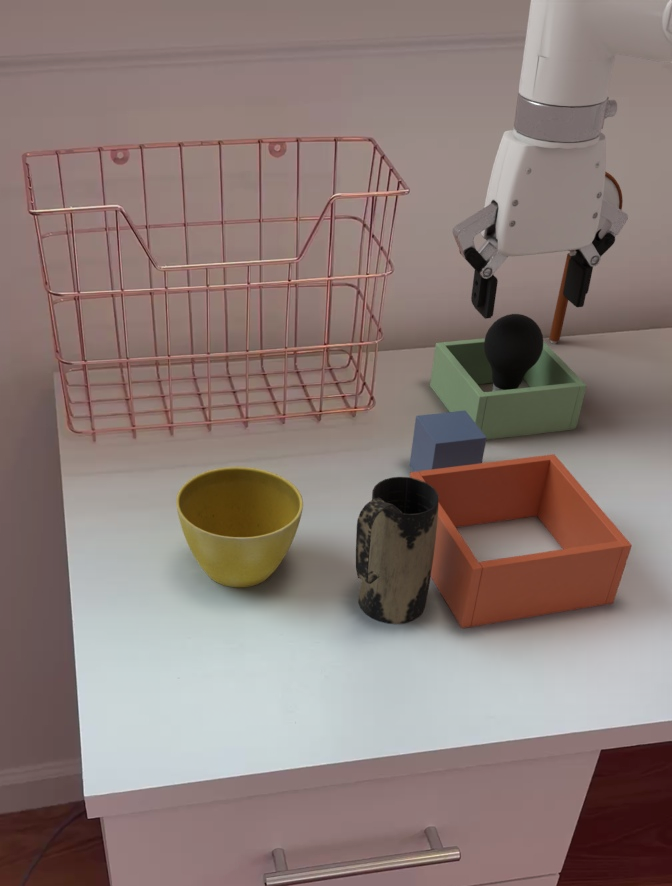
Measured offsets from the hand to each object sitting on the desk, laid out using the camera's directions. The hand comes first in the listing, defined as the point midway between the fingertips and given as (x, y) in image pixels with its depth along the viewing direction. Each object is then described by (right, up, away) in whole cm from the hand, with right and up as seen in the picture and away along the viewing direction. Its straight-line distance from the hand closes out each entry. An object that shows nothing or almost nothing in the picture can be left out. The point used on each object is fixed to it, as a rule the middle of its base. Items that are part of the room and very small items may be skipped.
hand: (528, 307), depth 101 cm
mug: (-15, -31, -17) cm, 38 cm away
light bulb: (-1, -8, +7) cm, 11 cm away
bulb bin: (-1, -9, +8) cm, 12 cm away
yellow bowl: (-27, -27, -14) cm, 41 cm away
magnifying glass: (+7, +1, +20) cm, 21 cm away
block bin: (-5, -27, -12) cm, 30 cm away
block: (-9, -18, -3) cm, 20 cm away
